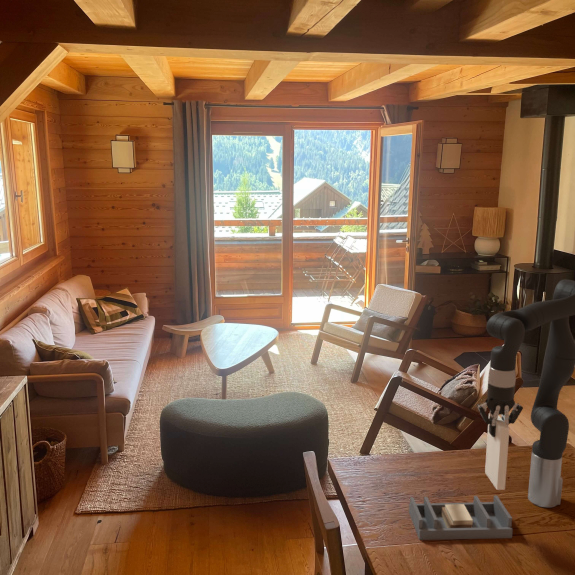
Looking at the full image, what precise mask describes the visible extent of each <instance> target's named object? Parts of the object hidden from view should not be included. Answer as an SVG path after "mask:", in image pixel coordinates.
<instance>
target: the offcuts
mask: <svg viewBox="0 0 575 575" xmlns="http://www.w3.org/2000/svg"><path fill="white" fill-rule="evenodd" d="M441 516H442V518H443V520H444V522H445V524H446V526H447V528H472V526H471V525H472V524H473V520H472V518H471V516H470V514H469V513H468V511H467V509H466V507H465V505H464V504H448V505H445V507H442V511H441Z"/></svg>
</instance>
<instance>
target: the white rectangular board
mask: <svg viewBox="0 0 575 575" xmlns="http://www.w3.org/2000/svg"><path fill="white" fill-rule="evenodd" d="M489 417H490V414H489V413H488V418H489ZM495 426H496V433H495V437H492V436H491V434H490V433H489V424H487V433H486V434H487V436H486V449H485V450H486V451H485V453H486V455H485V464H484V465H485V467H484V473H485V475H486V477H487V478H488V479H489V480H490V482H491V484H492V485H493V487H494V488H495V489H496V490H497V491H503V490H504V491H505V490H506V480H507V479H506V478H507V468H508V466H507V465H508V455H509V454H508V452H509V442H510V441H509V438H510V426H509V425H507V424H506V423H505V422H504V421H503V420H502V419H501V416H500V415H498V419H497V420H496V425H495Z"/></svg>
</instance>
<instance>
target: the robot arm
mask: <svg viewBox="0 0 575 575" xmlns="http://www.w3.org/2000/svg"><path fill="white" fill-rule="evenodd" d="M571 316H575V280H571V279H566V278H565V279H561V280H560V281H558V283H557V284H556V286H555V288H554V292H553V296H552V299H550V300H541V301H536V302H533V303H529V304H527V305H525V306H522V307H520V308H518V309H513V310H506V311H501V312H497V313H495V314H494V315H492V316H491V317H490V318H489V319H488V320H487V322H486V326H485V328H486V331H487V333H488V334H489V335H490V336H491V337H492V338H495V339H498V340H501V341H503V342H504V343H503V345H497V346H495V347H494V346H493V348H492V349H491V352H490V361H489V362H490V363H489V370H488V380H487V394H486V396H487V397H486V398H485V399H486V400H485V402H483V403H478V404H476V408H477V410H478V412H479V414H480V416H481V417H482V421H484V422H485V424H486V425H488V424H489V433H490V434H491V436H492V437H495V433H496V426H495V425H496V420H497V419H498V415H499V416H500V415H501V416H500V418H501V419H502V420H503V421H504V422H505V423H506V424H507V425H508V426H509V425H510V424H515V422H516V421H517V419H518V418H519V417H520V414H521V413H522V411H523V409H524V407H523V406H522V405H521V403H519V402H517V403H516V401H515V399H514V398H515V393H516V392H515V390H516V389H515V388H516V382H517V377H516V375H517V374H516V366H517V365H516V364H517V355H518V352H519V350H520V347H521V345H522V342H523V341H524V340H523V339H524V337H525V332H529V331H530V332H531V331H532V330H534V329H536V328H539V327H541V326H543V325H545V324H547V323H549V322H550V325H549V332H548V337H547V343H546V348H545V351H544V358H543V363H542V368H541V375H540V377H539V378H540V379H539V383H538V384H539V386H538V388H537V389H538V390H537V392H536V395H535V399H534V401H533V405H532V408H531V413H530V421H531V423H532V425H533V427H534V428H536V429H537V430H538V431H539V432H540V433H539V439H537V440H535V441H534V442H532V446H531V457H530V469H529V481H528V490H527V499H528V501H530V503H532V504H534V505H536V506H538V507H540V508H554V507H557V506H558V505H561V500H562V491H563V480H564V479H563V477H562V476H561V475H562V474H561V473H562V462H563V453H564V451H565V450H566V448H567V443H568V437H569V430H570V422H569V419H568V417H567V416H566V415H565V414H564V413H563V411H562V412H561V411H560V410H559V409H558V403H559V396H560V393H561V390H562V389H563V387H564V386H565V385H566V383H567V382H568V381H569V380H570V379H571V377H572V376H573V374H574V372H575V340H574V336H573V334H572V332H571V328H570V322H569V321H570V320H569V318H570V317H571ZM487 408H488V410H489V413H488V415H489V414H490V417H489V416H488V415H487Z"/></svg>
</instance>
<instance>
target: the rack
mask: <svg viewBox="0 0 575 575" xmlns="http://www.w3.org/2000/svg"><path fill="white" fill-rule="evenodd" d="M423 498H424V499H423V503H417V502H416V500H415V498H414V497H413V496H411V497H409V504H408V514H409V516H410V520H411V522H412V525H413V527H414V529H415V532H416V536H417V537H418V540H419V541H424V540H425V541H431V540H432V541H433V540H437V541H439V540H475V539H477V540H478V539H482V540H484V539H512V538H513V527H512V522H513V517H512V516H511V514H510V512H509V511H508V510H507V508H506V507H505V505H504V504H503V501H501V499H500V497H499V496H498V495H496V494H495V495H493V501H492V502H491V501H486V502H485V501H484V502H483V501H481V500H480V499H479V497H478V495H473V501H472V502H439V503H438V502H437V503H436V502H433V503H431V501H430V500H429V498H428V496H423ZM448 504H464V505H465V507H466V509H467V511H468V513H469V514H470V516H471V518H472V520H473V524H472V525H471V526H472V528H447V526H446V524H445V522H444V520H443V518H442V516H441V511H442V507H445V505H448Z"/></svg>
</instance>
